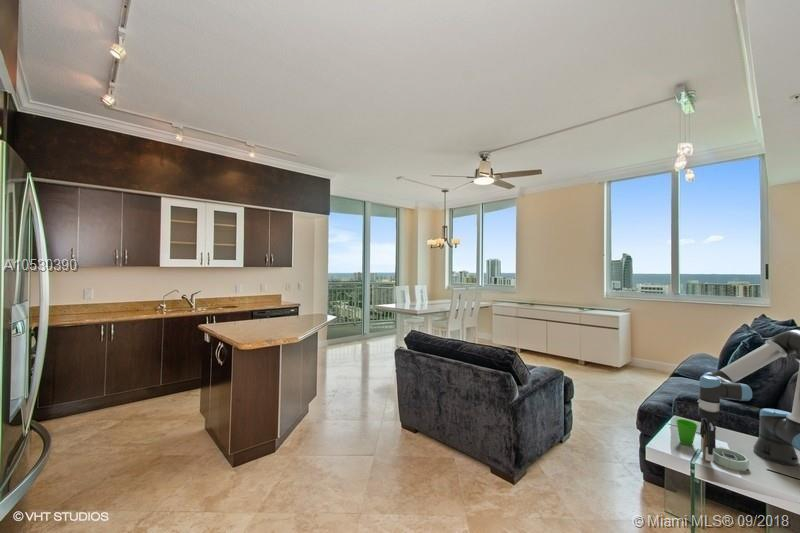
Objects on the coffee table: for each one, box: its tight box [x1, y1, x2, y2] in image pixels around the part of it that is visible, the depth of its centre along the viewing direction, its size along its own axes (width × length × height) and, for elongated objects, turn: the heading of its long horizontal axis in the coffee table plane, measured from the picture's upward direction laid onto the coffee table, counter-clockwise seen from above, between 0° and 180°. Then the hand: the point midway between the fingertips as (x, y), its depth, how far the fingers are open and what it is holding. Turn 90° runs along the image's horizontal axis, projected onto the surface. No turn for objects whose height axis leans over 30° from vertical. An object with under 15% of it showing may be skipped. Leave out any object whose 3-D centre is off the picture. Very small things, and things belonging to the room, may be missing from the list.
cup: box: [675, 418, 699, 446], centre depth 183 cm, size 9×9×11 cm
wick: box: [702, 434, 712, 464], centre depth 167 cm, size 2×2×12 cm
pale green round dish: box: [713, 446, 750, 471], centre depth 166 cm, size 13×13×4 cm
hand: (706, 456), depth 167 cm, fingers open, 8 cm apart
